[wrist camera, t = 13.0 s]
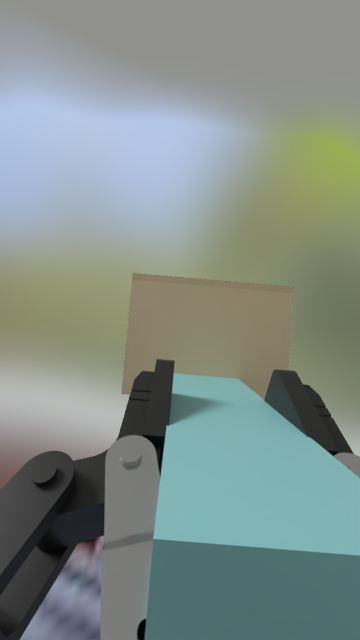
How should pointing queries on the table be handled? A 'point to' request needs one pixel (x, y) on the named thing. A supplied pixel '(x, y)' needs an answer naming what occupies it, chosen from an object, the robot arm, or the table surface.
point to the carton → (239, 475)
